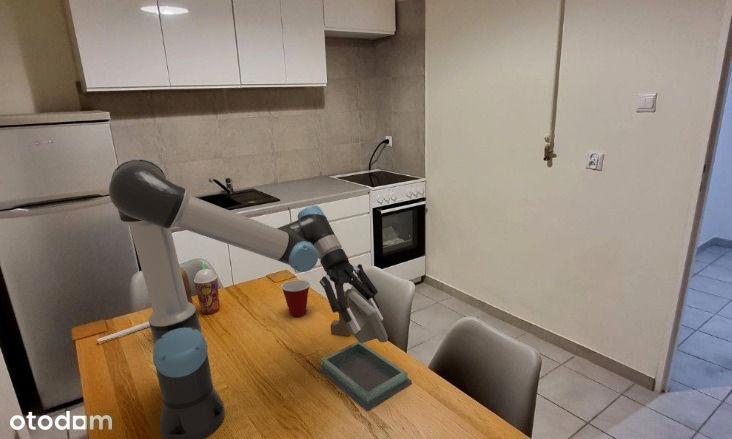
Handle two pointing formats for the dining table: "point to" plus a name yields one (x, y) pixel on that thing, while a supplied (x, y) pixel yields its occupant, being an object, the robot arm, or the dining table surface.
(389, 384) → the keeper tray
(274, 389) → the dining table surface
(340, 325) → the wooden block
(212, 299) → the smoothie
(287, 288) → the plastic cup
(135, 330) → the marker
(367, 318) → the digital clock
